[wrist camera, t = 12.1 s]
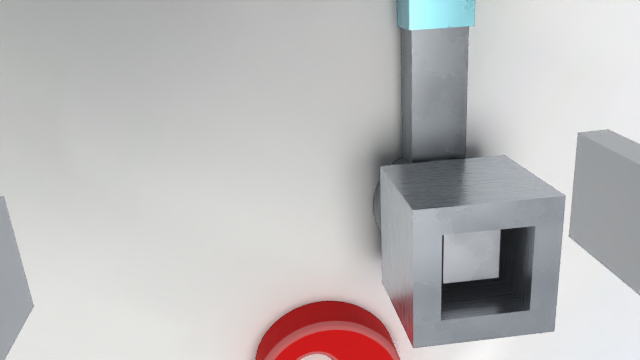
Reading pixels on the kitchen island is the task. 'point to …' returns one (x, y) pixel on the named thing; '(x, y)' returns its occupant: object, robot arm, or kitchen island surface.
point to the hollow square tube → (464, 217)
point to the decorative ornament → (327, 334)
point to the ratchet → (440, 116)
